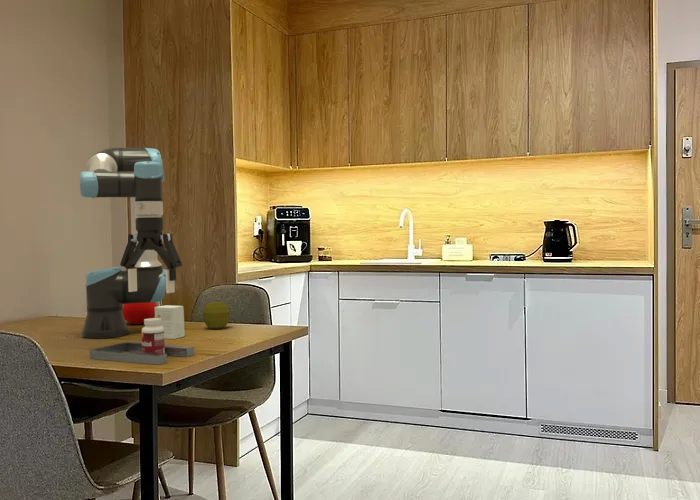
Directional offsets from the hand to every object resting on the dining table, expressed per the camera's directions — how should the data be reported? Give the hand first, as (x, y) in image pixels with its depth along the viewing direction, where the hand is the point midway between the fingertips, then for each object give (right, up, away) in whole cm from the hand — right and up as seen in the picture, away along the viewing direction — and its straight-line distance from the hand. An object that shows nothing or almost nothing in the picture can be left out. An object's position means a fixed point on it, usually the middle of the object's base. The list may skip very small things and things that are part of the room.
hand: (151, 292), depth 194 cm
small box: (-4, -18, +37) cm, 41 cm away
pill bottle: (0, -19, +1) cm, 19 cm away
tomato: (-25, -17, +72) cm, 78 cm away
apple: (+8, -17, +56) cm, 59 cm away
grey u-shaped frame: (-3, -19, +2) cm, 19 cm away
